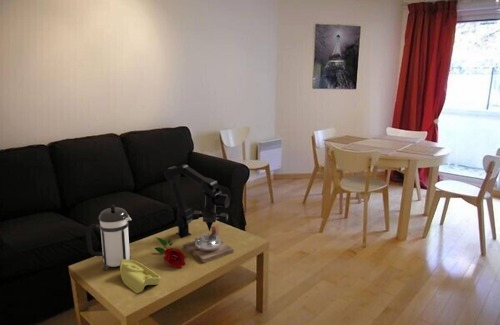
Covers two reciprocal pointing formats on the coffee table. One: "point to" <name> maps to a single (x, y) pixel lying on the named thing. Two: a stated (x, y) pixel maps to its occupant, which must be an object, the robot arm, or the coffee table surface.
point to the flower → (171, 254)
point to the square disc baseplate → (208, 255)
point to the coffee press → (112, 236)
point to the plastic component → (137, 275)
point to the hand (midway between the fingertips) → (209, 230)
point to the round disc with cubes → (209, 241)
